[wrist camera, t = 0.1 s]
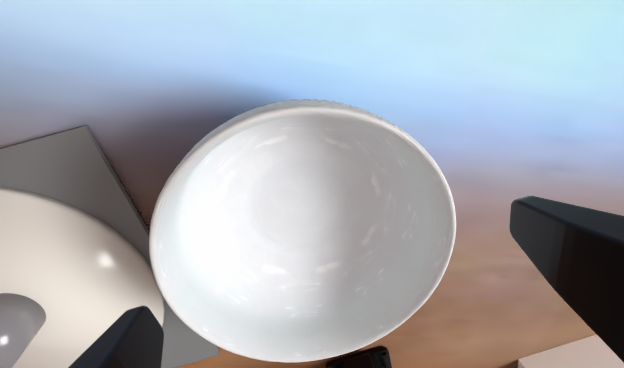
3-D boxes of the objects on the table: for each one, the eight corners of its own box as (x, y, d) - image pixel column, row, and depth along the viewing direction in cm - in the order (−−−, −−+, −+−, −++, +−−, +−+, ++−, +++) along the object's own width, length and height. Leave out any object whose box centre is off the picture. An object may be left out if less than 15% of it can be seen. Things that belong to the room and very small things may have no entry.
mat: (219, 350, 29) (218, 354, 29) (-17, 419, 29) (-20, 423, 28) (86, 124, 19) (83, 126, 19) (-280, 224, 19) (-290, 227, 18)
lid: (203, 350, 28) (195, 400, 25) (-17, 414, 28) (-61, 475, 24) (76, 146, 19) (31, 176, 15) (-254, 236, 19) (-386, 290, 15)
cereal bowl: (449, 189, 25) (512, 243, 19) (304, 314, 29) (316, 394, 23) (292, 19, 18) (307, 15, 12) (129, 211, 22) (76, 284, 16)
